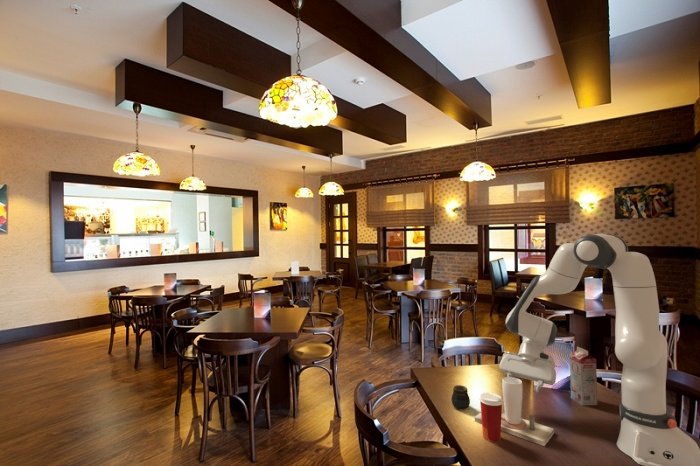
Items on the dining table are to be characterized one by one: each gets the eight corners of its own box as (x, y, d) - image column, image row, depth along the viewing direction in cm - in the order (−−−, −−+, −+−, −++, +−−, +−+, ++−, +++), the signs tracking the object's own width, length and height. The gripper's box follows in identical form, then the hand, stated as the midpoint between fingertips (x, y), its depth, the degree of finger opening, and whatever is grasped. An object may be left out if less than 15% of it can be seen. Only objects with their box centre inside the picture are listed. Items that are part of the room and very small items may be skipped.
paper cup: (507, 437, 123) (506, 396, 123) (498, 446, 118) (497, 403, 118) (485, 428, 129) (484, 389, 129) (475, 437, 123) (474, 396, 124)
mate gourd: (472, 406, 146) (471, 381, 147) (467, 413, 140) (466, 388, 140) (454, 401, 150) (454, 378, 150) (449, 409, 144) (448, 384, 144)
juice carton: (581, 405, 146) (580, 351, 146) (570, 398, 153) (569, 346, 153) (597, 404, 146) (596, 351, 147) (586, 397, 153) (584, 346, 153)
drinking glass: (525, 427, 126) (524, 384, 126) (505, 425, 127) (504, 383, 128) (520, 418, 133) (519, 377, 133) (501, 416, 134) (500, 376, 134)
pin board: (554, 433, 125) (553, 416, 125) (544, 446, 118) (544, 428, 118) (487, 410, 142) (486, 395, 142) (474, 421, 134) (474, 405, 134)
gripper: (502, 346, 150) (493, 376, 143) (556, 357, 136) (549, 391, 129) (506, 354, 154) (497, 384, 146) (559, 366, 139) (553, 399, 132)
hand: (522, 388), depth 138 cm, fingers open, 8 cm apart
